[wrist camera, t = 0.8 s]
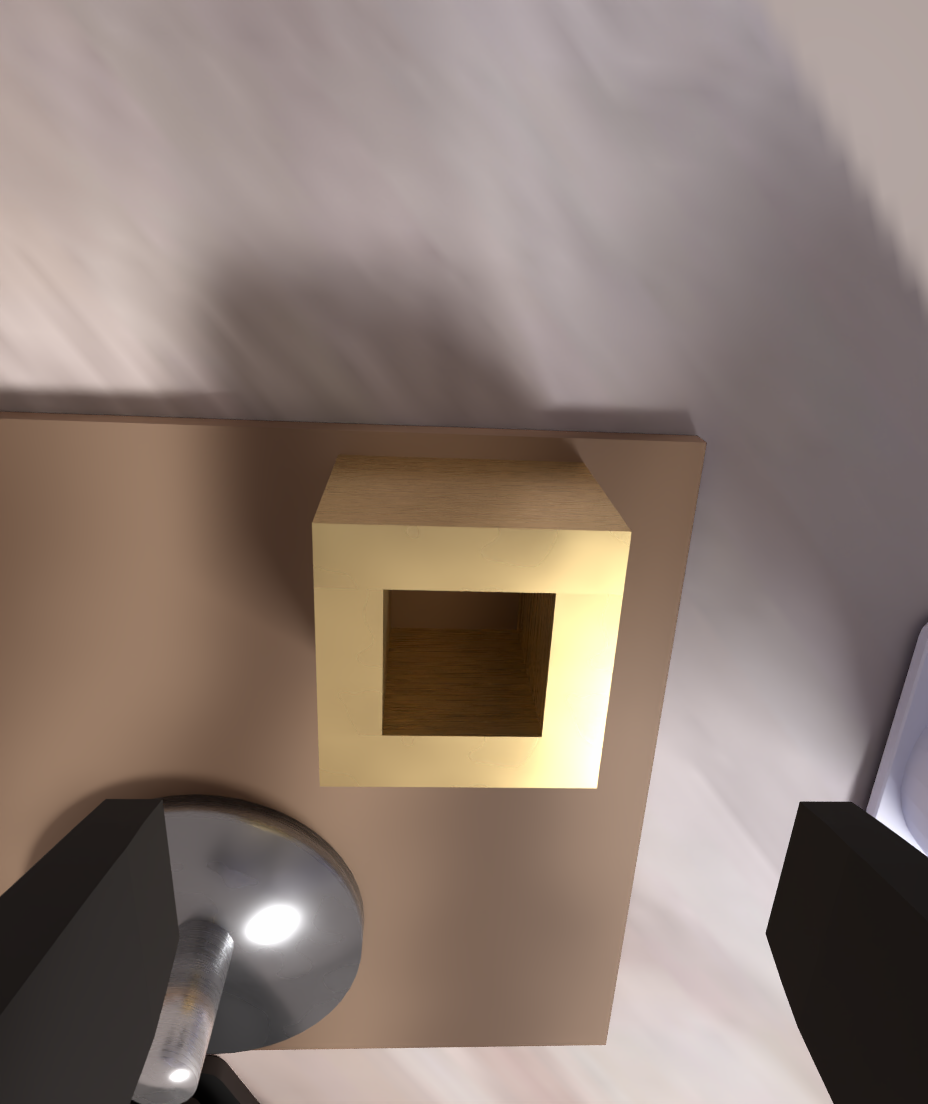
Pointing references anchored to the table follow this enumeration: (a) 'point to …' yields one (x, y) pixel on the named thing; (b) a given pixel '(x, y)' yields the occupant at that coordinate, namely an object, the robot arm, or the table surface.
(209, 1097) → the end cap
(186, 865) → the stand
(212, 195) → the table surface
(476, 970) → the board
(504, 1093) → the table surface
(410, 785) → the collar
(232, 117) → the table surface
